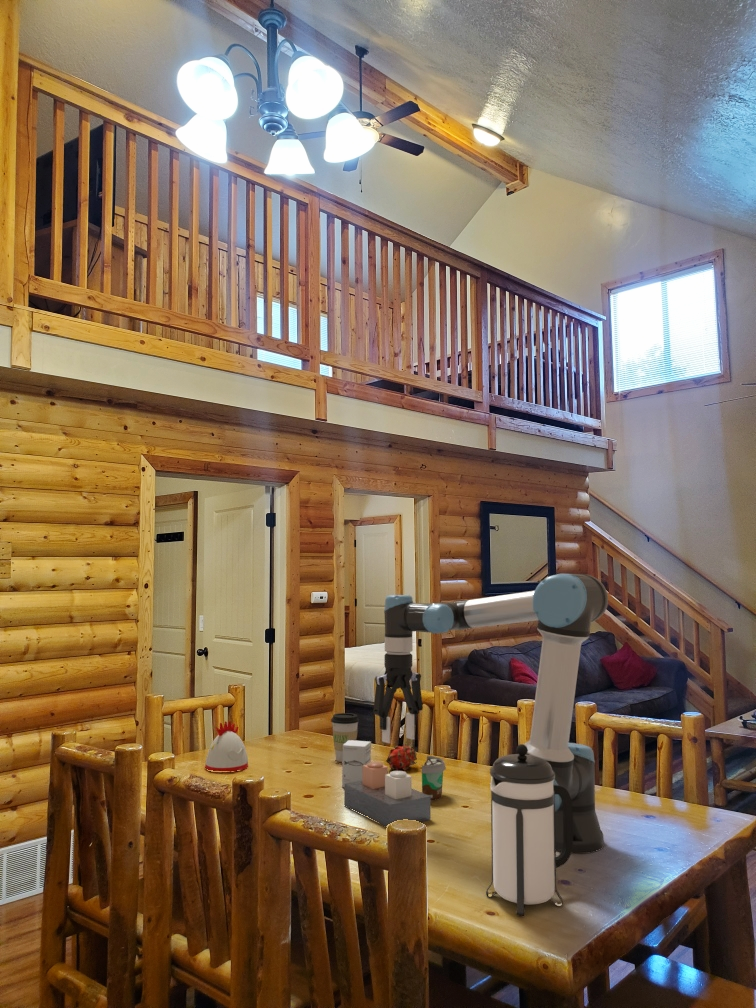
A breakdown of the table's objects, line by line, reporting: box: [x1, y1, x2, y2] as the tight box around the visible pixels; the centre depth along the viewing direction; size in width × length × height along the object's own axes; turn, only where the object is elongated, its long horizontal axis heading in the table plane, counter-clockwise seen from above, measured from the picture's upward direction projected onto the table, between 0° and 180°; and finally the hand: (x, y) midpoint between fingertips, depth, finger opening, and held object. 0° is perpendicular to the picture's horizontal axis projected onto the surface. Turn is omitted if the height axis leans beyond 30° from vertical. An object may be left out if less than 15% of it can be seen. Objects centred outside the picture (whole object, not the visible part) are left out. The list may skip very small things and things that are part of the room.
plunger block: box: [343, 781, 432, 828], centre depth 195 cm, size 22×13×6 cm, turn 34°
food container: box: [421, 755, 446, 802], centre depth 209 cm, size 12×6×10 cm, turn 168°
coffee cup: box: [330, 712, 360, 763], centre depth 251 cm, size 10×10×15 cm
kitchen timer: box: [204, 720, 249, 771], centre depth 240 cm, size 14×14×15 cm
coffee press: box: [485, 743, 573, 917], centre depth 145 cm, size 17×16×30 cm
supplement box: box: [341, 740, 372, 788], centre depth 220 cm, size 7×7×13 cm
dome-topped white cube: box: [385, 770, 412, 799], centre depth 191 cm, size 5×5×7 cm
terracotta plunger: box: [362, 761, 389, 789], centre depth 200 cm, size 5×5×7 cm
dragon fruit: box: [385, 743, 417, 772], centre depth 238 cm, size 8×8×12 cm
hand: (398, 740), depth 192 cm, fingers open, 7 cm apart
